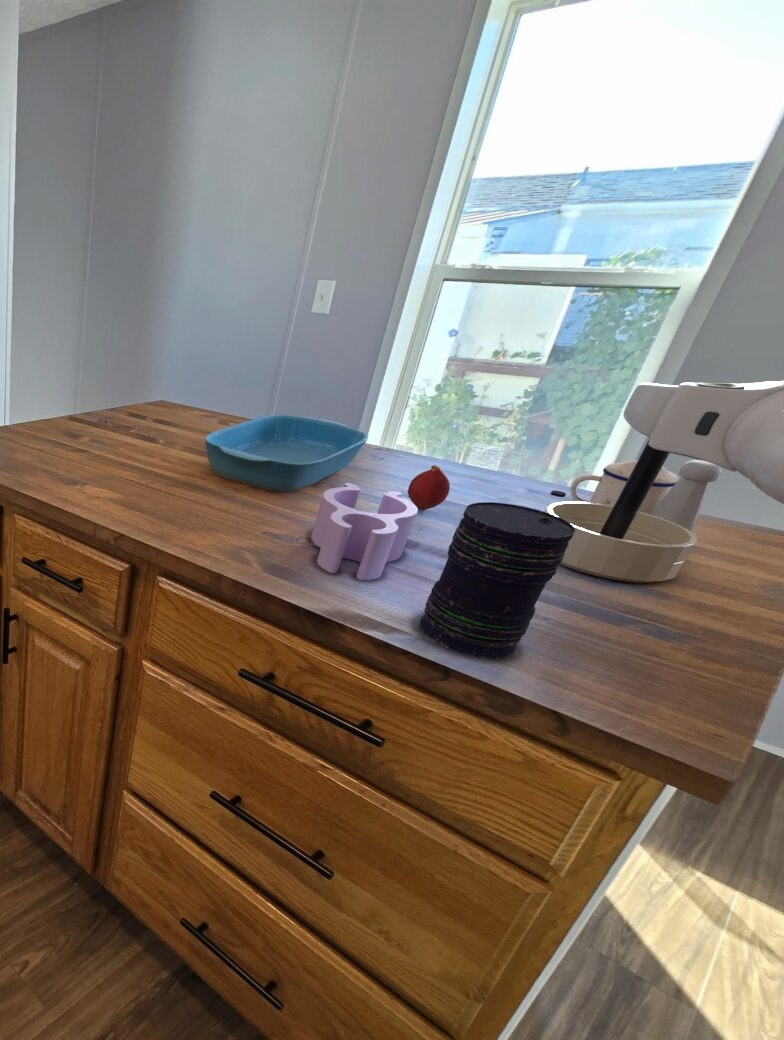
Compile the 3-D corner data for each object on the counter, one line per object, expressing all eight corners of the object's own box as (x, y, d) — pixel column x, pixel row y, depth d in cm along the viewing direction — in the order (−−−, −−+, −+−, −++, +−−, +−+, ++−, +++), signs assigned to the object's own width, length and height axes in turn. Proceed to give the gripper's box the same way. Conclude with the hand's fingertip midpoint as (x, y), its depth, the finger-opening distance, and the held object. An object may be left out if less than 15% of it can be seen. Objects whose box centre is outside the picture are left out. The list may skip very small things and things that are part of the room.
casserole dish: (289, 507, 113) (300, 467, 109) (178, 474, 127) (185, 438, 124) (374, 465, 134) (385, 430, 131) (271, 441, 149) (279, 409, 145)
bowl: (658, 553, 99) (680, 516, 96) (687, 597, 87) (713, 557, 84) (525, 529, 106) (542, 494, 103) (535, 566, 94) (553, 528, 91)
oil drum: (446, 657, 73) (512, 507, 64) (401, 612, 82) (455, 474, 73) (537, 661, 73) (616, 510, 64) (483, 615, 82) (547, 477, 73)
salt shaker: (671, 554, 98) (720, 470, 92) (626, 539, 103) (670, 459, 97) (691, 547, 101) (740, 466, 94) (646, 533, 105) (690, 455, 99)
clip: (397, 588, 88) (414, 541, 84) (298, 565, 93) (311, 520, 90) (403, 537, 103) (419, 495, 99) (318, 519, 108) (329, 479, 105)
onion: (423, 503, 116) (439, 459, 112) (448, 515, 111) (466, 470, 107) (394, 504, 115) (409, 460, 111) (418, 517, 110) (435, 471, 106)
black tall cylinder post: (621, 553, 97) (686, 435, 88) (629, 567, 93) (698, 444, 84) (574, 544, 99) (632, 428, 91) (579, 557, 95) (641, 437, 86)
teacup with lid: (647, 523, 109) (685, 455, 103) (653, 540, 103) (694, 469, 97) (557, 506, 115) (588, 441, 110) (558, 522, 109) (591, 453, 103)
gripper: (987, 412, 54) (902, 384, 65) (662, 382, 64) (633, 362, 74) (931, 485, 57) (859, 447, 68) (630, 446, 67) (606, 418, 77)
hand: (739, 402), depth 71 cm, fingers open, 8 cm apart
